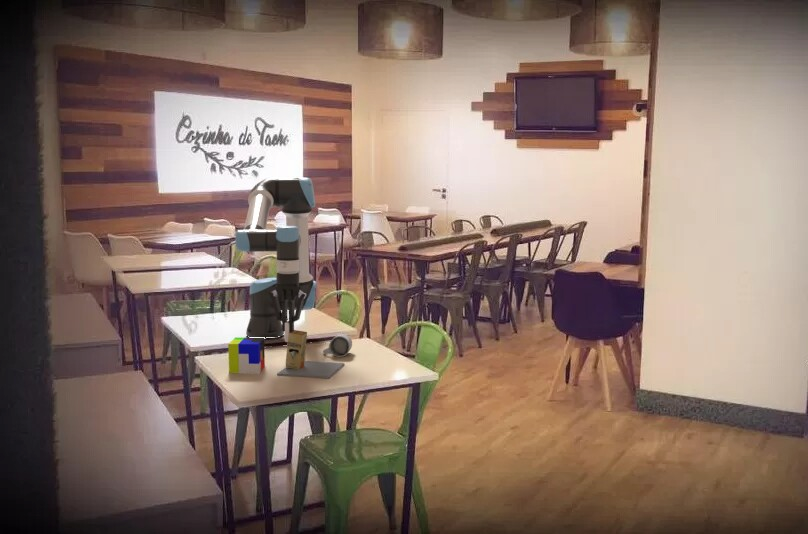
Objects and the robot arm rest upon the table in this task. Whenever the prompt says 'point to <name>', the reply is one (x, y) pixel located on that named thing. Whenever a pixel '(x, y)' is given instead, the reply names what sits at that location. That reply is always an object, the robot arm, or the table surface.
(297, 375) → the mat
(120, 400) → the table surface
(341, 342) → the ceramic mug
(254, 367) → the puzzle toy
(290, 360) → the shoe polish box
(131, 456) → the table surface
